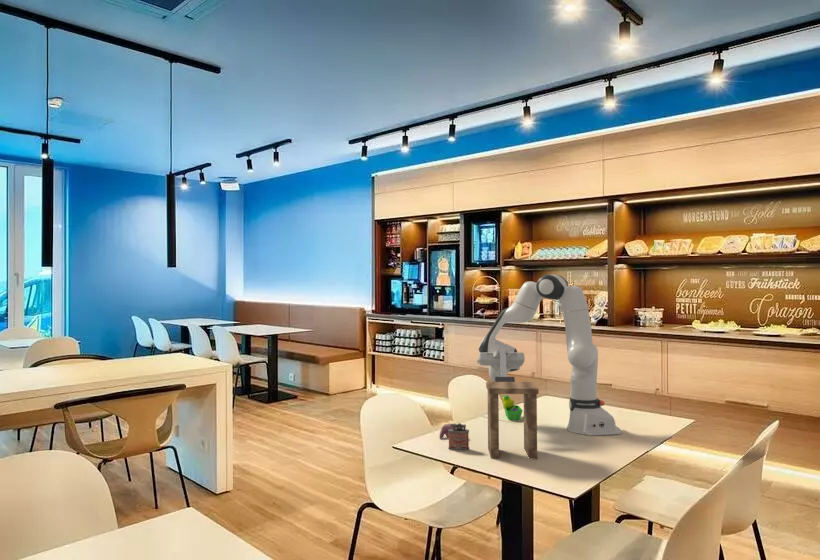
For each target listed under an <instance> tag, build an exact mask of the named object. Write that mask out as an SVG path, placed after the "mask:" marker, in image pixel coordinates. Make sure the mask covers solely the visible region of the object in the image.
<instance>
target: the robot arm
mask: <svg viewBox="0 0 820 560" xmlns="http://www.w3.org/2000/svg"><path fill="white" fill-rule="evenodd" d="M543 299H548V300H554V301H559V303H560V305H561V306H560V307H561V310H562V317H563V321H564V322H563V324H564V329H565V340H566V350H567V351H566V353H567V360H568V362H569V363H570V364H571V372H570V373H571V374H570V381H569V383H570V385H569V387H570V397H569V401H568V403H569V404H568V405H569V419H568V424H567V428H566V429H567V431H569V432H571V433H576V434H580V435H585V436H590V437H591V436H611V435H612V436H614V435H622V429H621V428H620V427H618V425H616V420H615V417H614V416H613V415H612V414H611V413H609V412H608V411H607V410H606V409H604V408H603V406H605V401H604V400H602V399H600V398H598V396H597V395H598V393H597V392H598V391H597V390H598V389H597V381H598V380H597V379H598V360H599V359H598V358H599V351H598V350H599V349H598V348H597V346H596V344H595V343H594V342H593V333H592V322H591V318H590V313H589V312H590V311H589V306H588V301H587V298H586V295H585V293H584V290H583V289H582V288H581V287H580V286H576V285H570V286H569V284H568V282H567V280H566V278H564V277H563V276H561V275H558V274H545V275H542V276H541V277H539V278H538V279H537V281H536V282H535V281H525V282H523V284H522V286H521V287H520V289H519V290H518V292H517V294H516V296H515V298H514V301H513V303H512V304H510V305H511V306H509V307H506V308H504V309H503V310H502V311H501V312H500V313H499V314H498V317H497V318H496V320H495V321H494V323H493V324H492V326H491V328H490V329H489V331H487V334H486V335H485V337H484V338H483V339H482V340H481V342H480V343H479V346H478V351H479V353H478V359H477V360H476V363H477V364H479V365H480V366H483V367H484V366H489V367H488V377H489V378H490V380H491V382H495V381H494V380H495V377H501V373H500V359H499V355H500V350H499V348H505V353H506V366H507V374H508V373H510V372H511V373H512V372H517V371H519V370H520V369H521V367H523V365H524V362H525V360H526V359H525V357H526V356H525V353H524V352H521V351H520V352H518V350H517V348H516V347H515V346H512V345H509V344H507V343H504V342H502V341H500V340H498V339H496V337H497V335H498V333H499V332H500V330H501V329H502V328H503V325H505V324H509V323H513V324H514V323H517V324H521V323H527V322H529V321H531V320H532V319H533V318H534V317H535V315H536V313H537V310H538V308H539V305H540V303H541V301H542V300H543Z"/></svg>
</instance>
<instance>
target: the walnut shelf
mask: <svg viewBox="0 0 820 560" xmlns="http://www.w3.org/2000/svg"><path fill="white" fill-rule="evenodd" d="M485 386H486V387H485V388H486V389H487V448H488V449H487V450H488V454H489V457H490V459H500V433H499V432H500V426H499V425H500V424H499V422H500V421H499V420H500V418H499V417H500V415H499V414H500V413H499V412H500V411H499V410H500V409H499V405H500V404H499V395H523V450H524V449H525V450H524V451H526V452H525V454H526V453H527V454H526V455H528V456H527V457H529V458H536V459H535V460H537V459H538V422H537V421H538V404H537V403H538V402H537V401H538V400H537V399H538V398H537V397H538V396H537V395H539V387H537V386H536V385H535V383H533V381H515V382H494V381H485ZM529 458H528V459H529Z"/></svg>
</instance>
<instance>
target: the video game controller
mask: <svg viewBox="0 0 820 560" xmlns="http://www.w3.org/2000/svg"><path fill="white" fill-rule="evenodd" d="M450 424H451V423H447V424H444V425H443V426H441V428H440V432H439V439H440V440H442V439H443V437H444V436H446V437H447V438H448V439H449V432H448V430H449V429H453V428H454V427H450ZM455 429H457V427H455Z"/></svg>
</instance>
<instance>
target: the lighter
mask: <svg viewBox="0 0 820 560" xmlns="http://www.w3.org/2000/svg"><path fill="white" fill-rule="evenodd" d="M449 424H450V427H454V428H453V429H449V430H448V432H449V438H448V450H449V451H469V450H470V447H469V446H470V445H469V443H470V442H469V441H470V440H469V438H470V437H469V433H470V430H469V429H468V428H467V425H466V424H463V423H461V422H459V423H449ZM455 427H457V429H455Z"/></svg>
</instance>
